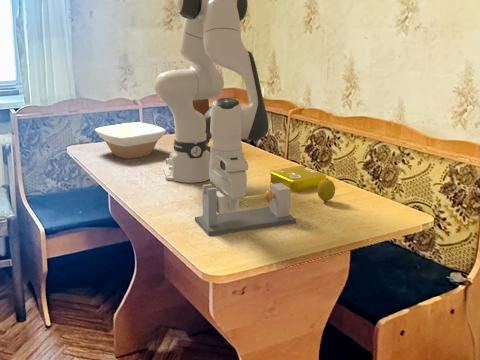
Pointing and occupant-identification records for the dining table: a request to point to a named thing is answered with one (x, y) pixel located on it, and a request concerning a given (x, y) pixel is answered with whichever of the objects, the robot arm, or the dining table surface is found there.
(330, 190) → the lemon
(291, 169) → the element tile
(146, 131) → the bowl
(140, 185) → the dining table surface
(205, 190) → the cord rig
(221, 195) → the sleeve
